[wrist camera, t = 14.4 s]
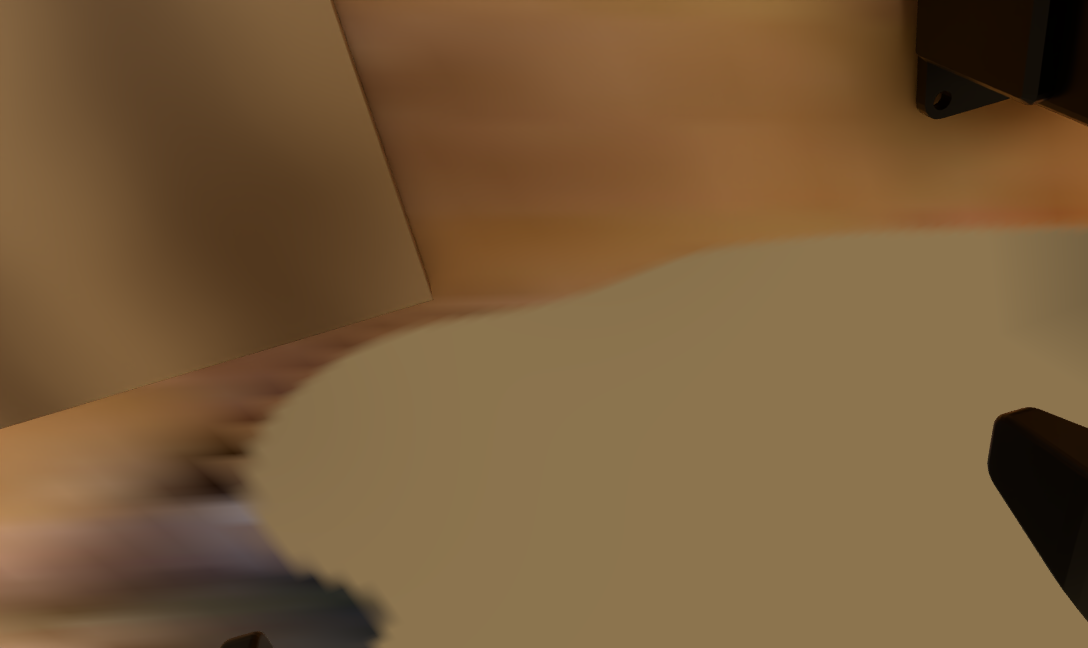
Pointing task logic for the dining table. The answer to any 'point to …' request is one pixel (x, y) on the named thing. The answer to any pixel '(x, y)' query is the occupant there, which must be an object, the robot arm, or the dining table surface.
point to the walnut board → (183, 193)
